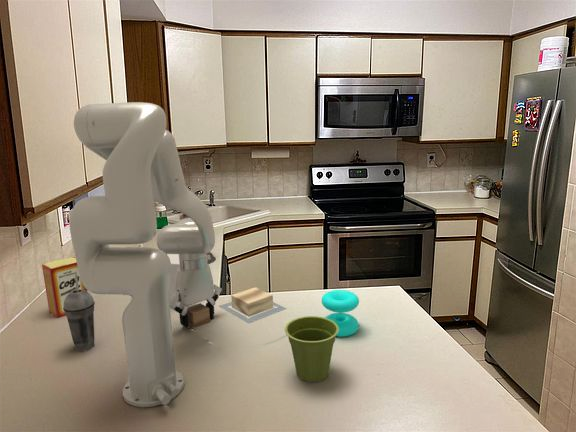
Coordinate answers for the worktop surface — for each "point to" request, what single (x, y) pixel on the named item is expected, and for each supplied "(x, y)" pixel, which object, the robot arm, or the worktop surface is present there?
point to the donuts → (342, 310)
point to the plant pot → (312, 346)
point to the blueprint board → (254, 317)
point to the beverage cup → (80, 317)
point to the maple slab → (252, 301)
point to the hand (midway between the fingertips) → (197, 321)
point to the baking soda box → (60, 283)
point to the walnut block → (198, 315)
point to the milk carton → (174, 275)
